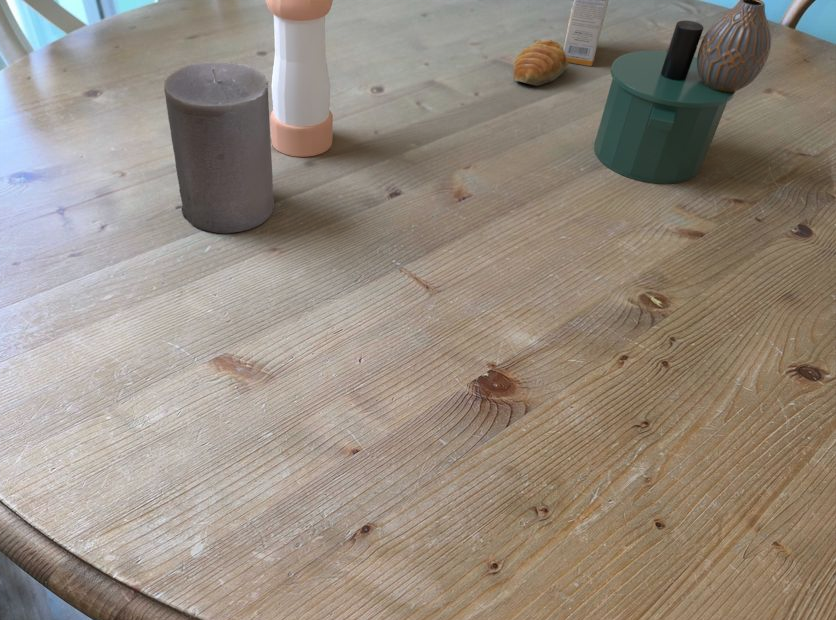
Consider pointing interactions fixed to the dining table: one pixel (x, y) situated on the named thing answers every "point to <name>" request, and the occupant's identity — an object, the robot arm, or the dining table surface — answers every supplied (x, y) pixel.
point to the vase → (735, 47)
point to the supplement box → (584, 30)
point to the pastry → (540, 63)
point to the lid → (669, 73)
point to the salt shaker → (300, 78)
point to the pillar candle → (221, 145)
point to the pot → (654, 137)
